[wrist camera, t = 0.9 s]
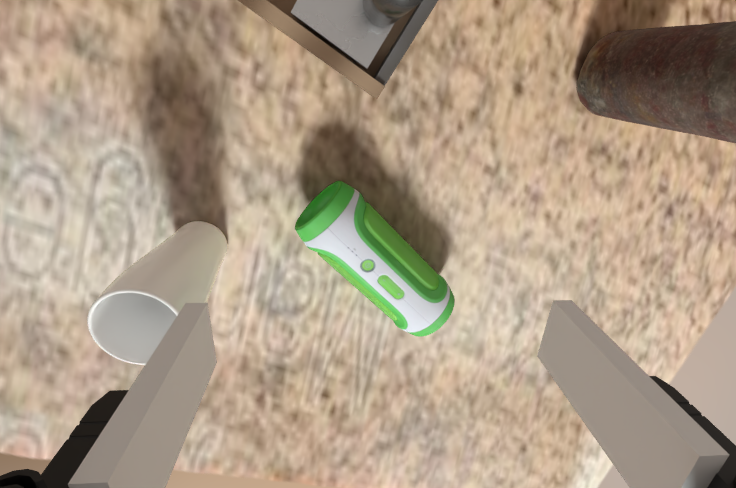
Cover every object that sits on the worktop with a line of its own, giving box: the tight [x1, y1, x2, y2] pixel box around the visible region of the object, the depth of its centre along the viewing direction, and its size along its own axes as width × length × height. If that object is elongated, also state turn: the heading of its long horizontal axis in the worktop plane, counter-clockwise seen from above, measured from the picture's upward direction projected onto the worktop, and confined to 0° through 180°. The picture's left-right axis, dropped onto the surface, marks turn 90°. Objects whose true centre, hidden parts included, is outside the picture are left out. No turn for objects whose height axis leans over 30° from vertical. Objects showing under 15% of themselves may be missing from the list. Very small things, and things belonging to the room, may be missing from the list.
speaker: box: [295, 181, 454, 336], centre depth 39 cm, size 18×7×8 cm, turn 42°
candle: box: [577, 21, 736, 143], centre depth 28 cm, size 8×7×20 cm
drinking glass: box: [87, 221, 228, 365], centre depth 34 cm, size 7×7×15 cm
